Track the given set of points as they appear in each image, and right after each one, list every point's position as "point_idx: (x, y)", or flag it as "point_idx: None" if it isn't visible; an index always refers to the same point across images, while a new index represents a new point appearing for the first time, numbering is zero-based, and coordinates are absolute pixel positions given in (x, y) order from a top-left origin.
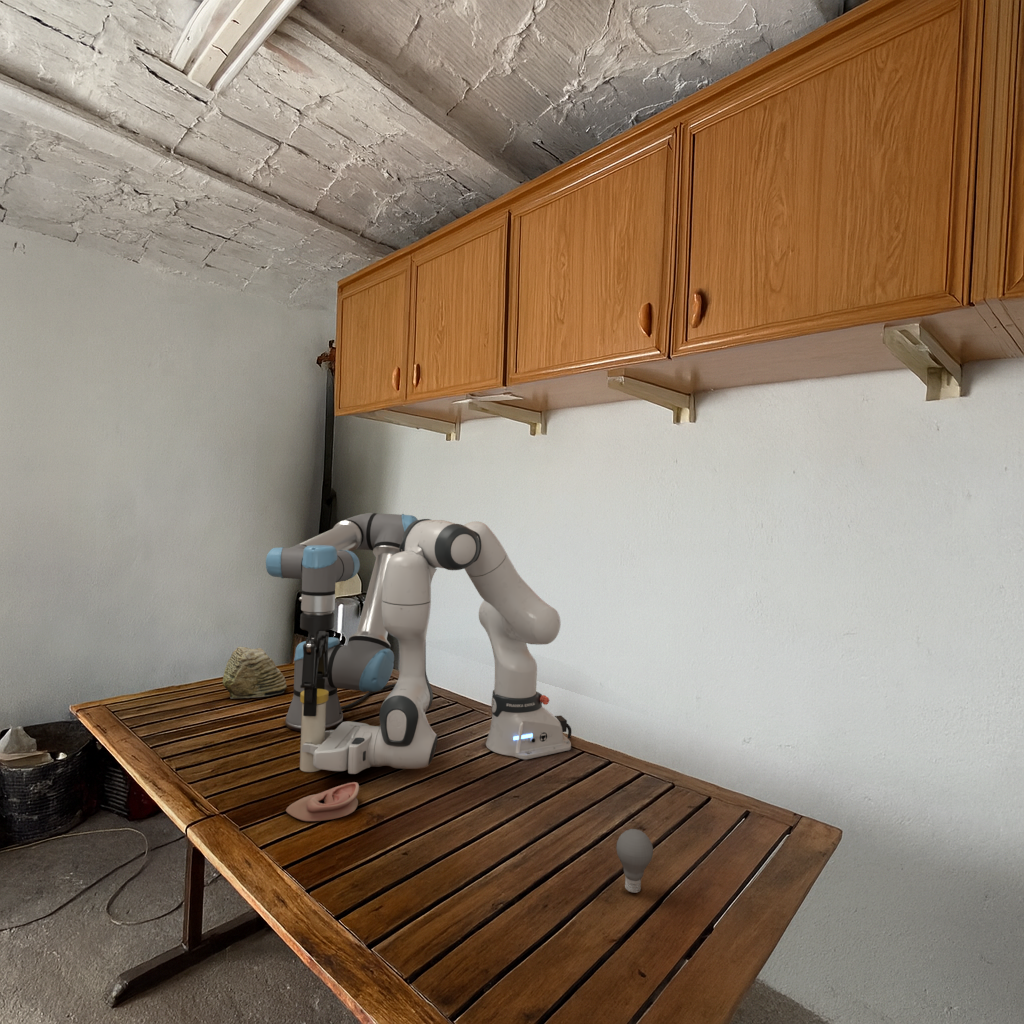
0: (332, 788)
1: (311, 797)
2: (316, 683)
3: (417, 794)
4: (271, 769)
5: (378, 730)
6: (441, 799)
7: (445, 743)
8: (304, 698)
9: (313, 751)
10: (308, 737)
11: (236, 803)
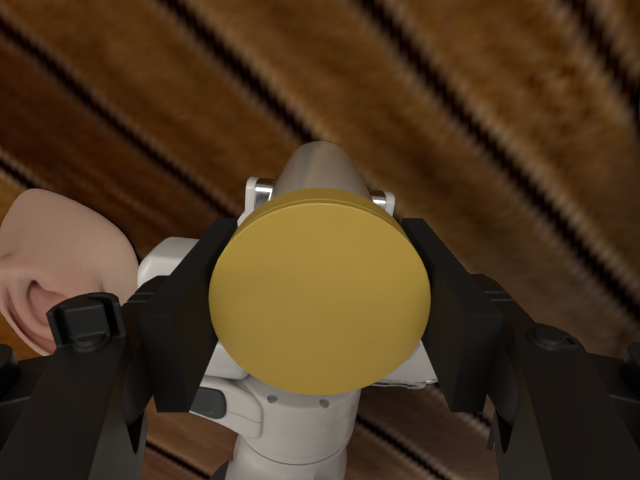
0: None
1: (29, 264)
2: (444, 322)
3: (197, 437)
4: (293, 45)
5: (271, 459)
6: (184, 474)
7: (480, 466)
8: (181, 267)
9: None
10: None
11: (32, 16)
